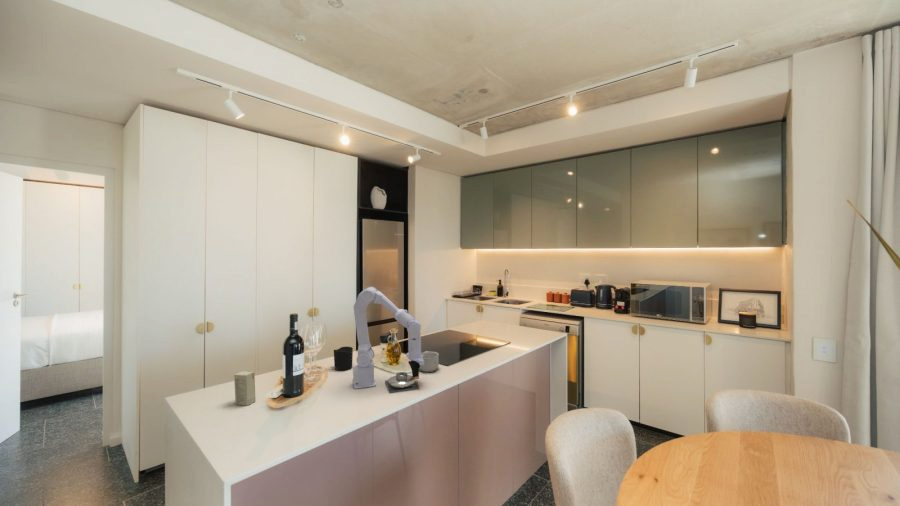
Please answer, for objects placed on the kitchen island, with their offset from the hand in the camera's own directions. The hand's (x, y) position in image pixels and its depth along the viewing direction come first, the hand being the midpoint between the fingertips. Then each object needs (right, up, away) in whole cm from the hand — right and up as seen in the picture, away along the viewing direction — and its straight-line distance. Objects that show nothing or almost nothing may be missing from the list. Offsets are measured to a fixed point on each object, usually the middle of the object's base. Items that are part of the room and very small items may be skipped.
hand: (415, 376), depth 162 cm
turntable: (-5, -2, -2) cm, 6 cm away
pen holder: (-39, -3, +21) cm, 45 cm away
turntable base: (-6, -3, -2) cm, 7 cm away
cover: (-6, -1, -3) cm, 6 cm away
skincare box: (-67, -4, -19) cm, 70 cm away
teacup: (+5, -3, +19) cm, 20 cm away
